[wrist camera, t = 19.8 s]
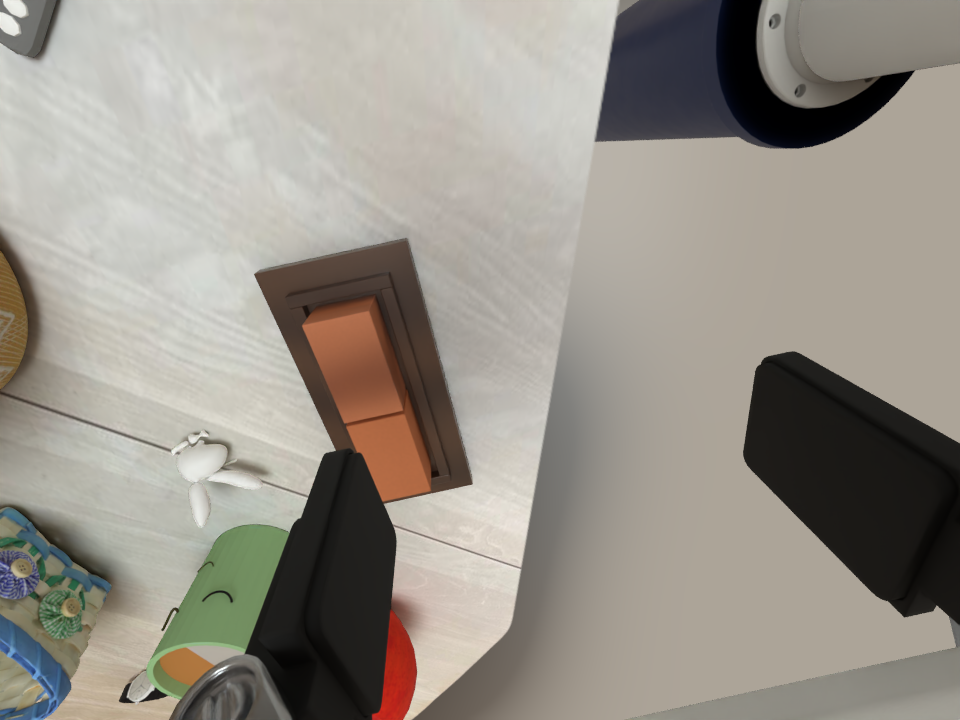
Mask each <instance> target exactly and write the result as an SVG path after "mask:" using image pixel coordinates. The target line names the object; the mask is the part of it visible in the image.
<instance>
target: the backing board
mask: <svg viewBox="0 0 960 720" xmlns="http://www.w3.org/2000/svg"><path fill="white" fill-rule="evenodd" d="M254 275H255V277H256V279H257V282H258V284H259V286H260V288H261V290H262V292H263V295H264V297H265V299H266V301H267V303H268V305H269V307H270V310H271V312H272V314H273V316H274V318H275V320H276V322H277V325H278V327H279V329H280V331H281V333H282V335H283V338H284V340H285V342H286V344H287V346H288V348H289V350H290V353H291V355H292V357H293V359H294V361H295V363H296V365H297V368H298V370H299V372H300V374H301V376H302V378H303V380H304V383H305V385H306V387H307V389H308V391H309V393H310V396H311V398H312V400H313V402H314V404H315V406H316V408H317V411H318V413H319V415H320V417H321V419H322V421H323V423H324V426H325V428H326V430H327V432H328V434H329V436H330V439H331V441H332V443H333V445H334V447H335V449H336V451H338V450H342V449H347V448H351V449H352V450H353V451H354V453H357V451H356V449H355V446H354V444H353V442H352V439H351V437H350V435H349V432H348V430H347V428H346V426H347V423H349V422H354V421H359V420H363V419H368V418H372V417H377V416H381V415H386V414H391V413H395V412H400V411H403V407H404V398H405V390H408V393H409V396H410V399H411V402H412V405H413V409H414V412H415V415H416V418H417V421H418V424H419V427H420V430H421V433H422V436H423V439H424V442H425V445H426V448H427V451H428V454H429V457H430V460H431V491H429V492H424V493H420V494H415V495H411V496H406V497H402V498H397V499H393V500H388V501H383V504H385V503H390V502H394V501H399V500H403V499H408V498H412V497H417V496H422V495H426V494H431V493H435V492H440V491H444V490H449V489H454V488H458V487H463V486H467V485H472V484H473V483H472V476H471V472H470V468H469V464H468V461H467V457H466V453H465V450H464V446H463V442H462V439H461V435H460V431H459V427H458V424H457V420H456V416H455V413H454V409H453V405H452V402H451V398H450V394H449V390H448V387H447V383H446V379H445V376H444V372H443V368H442V365H441V361H440V357H439V354H438V350H437V346H436V342H435V339H434V335H433V331H432V328H431V324H430V320H429V317H428V313H427V309H426V305H425V302H424V298H423V294H422V291H421V287H420V283H419V280H418V276H417V272H416V269H415V265H414V261H413V257H412V254H411V250H410V246H409V243H408V239H407V238H405V239H400V240H395V241H391V242H386V243H382V244H377V245H373V246H368V247H363V248H359V249H354V250H350V251H345V252H340V253H336V254H331V255H327V256H322V257H317V258H313V259H308V260H304V261H299V262H295V263H290V264H285V265H281V266H276V267H272V268H267V269H262V270H259V271H258V272H257V273H255V274H254Z"/></svg>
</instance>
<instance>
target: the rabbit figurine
mask: <svg viewBox="0 0 960 720" xmlns="http://www.w3.org/2000/svg"><path fill="white" fill-rule="evenodd" d="M201 436H203V437H208V436H209V435H208V434H207V433H206V432H205V431H204V430H202V431H201V432H200V434H199V435H193V434H191V435H189V436H188V439H189V442H188V441H183V442H181V443H180V444H178V445H177V446H175V447H174V448H173V449H172V450H171V452H172V455H173V456H174V455H175V453H176V452H177V451H179V450H181V449H182V448H184V447H186V446H187V445H188V444H189V443H192V444H193V443H195V442H197V441H198V439H199V438H200V437H201ZM227 454H228V453H227V448H226V447H225V446H224V445H221V444H210V445H206V444H204V441H203V440H199V441H198V443H197V444H196V445H195V446H194V447H191V446H188V447H187V448H186V449H185V450H183V451H182V452H181V453H180V454H179V456H178V457H177V461H176V464H177V469H178V471H179V473H180V475H181V476H182V477H183V478H184V479H186V480H188V481H191V482H193V483H194V484H192V485H191V486H190V488H189V493H188V495H189V501H190V505H191V509H192V514H193V517H194V520H195V522H196V524H197V525H198V526H199V527H202V528H203V527H204V526H205V525H206V522H207V520H208V517H209V514H210V510H211V507H210V498H209V495H208V492H207V489H206V487H205V486H204V484H203V483H198V482H199V481H200V480H201V479H205V478H207V477H208V478H207V480H208V481H214V482H222V483H227V484H231V485H234V486H237V487H241V488H243V489H249V490H252V489H259V488H262V486H263V482H262V481H261V480H260V479H259V478H257V477H255V476H253V475H251V474H249V473H245V472H240V471H233V470H225V471H219V472H217V471H218V470H219V469H220V468H221V467H222V466H223V467H224V466H226V465H229V464H231V463H233V462H236V460H237V459H235V460H233V461H230V462H228V463H226V464H224V463H225V461H226V458H227ZM215 472H216V473H215Z"/></svg>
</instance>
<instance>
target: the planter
mask: <svg viewBox="0 0 960 720" xmlns="http://www.w3.org/2000/svg"><path fill="white" fill-rule="evenodd" d="M27 337H28V321H27V312H26V306H25V302H24V298H23V295H22V292H21V289H20V286H19V284H18V282H17V279H16V277H15V275H14V273H13V271H12V269H11V267H10V265H9V263H8V262H7V260H6V258H5V257H4V255H3V254H2V252H1V251H0V390H1V389H2V388H3V387H4V386H5V385H6V384H7V383H8V381H9V380H10V379H11V378H12V377H13V375H14V374H15V372H16V371H17V369H18V367H19V365H20V363H21V360H22V358H23V355H24V352H25V349H26V344H27Z"/></svg>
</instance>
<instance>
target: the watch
mask: <svg viewBox="0 0 960 720" xmlns="http://www.w3.org/2000/svg"><path fill="white" fill-rule="evenodd" d="M166 696H169V695H167V694H165V693H163V692H161V691H160V690H158V689H157V688H155V687H154V685H153V684H152V683H151V682H150V681H149V679H148V677H147V672H146V671H144V672H142V673H141V674H140V675H138V676H137V678H136V679H135V680H134V681H133V682H132V683H129V684H127V685H126V686H125V688H124V691H123V693H122V695H121V697H120V700H119V702H122V703H136V704H135V705H137V704H138V703H139V702H144V701H150V700H155V699H160V698H164V697H166Z"/></svg>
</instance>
